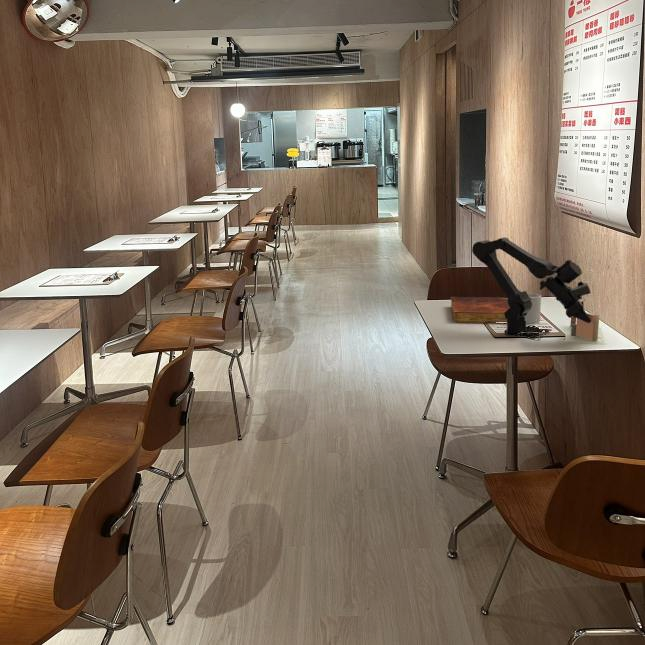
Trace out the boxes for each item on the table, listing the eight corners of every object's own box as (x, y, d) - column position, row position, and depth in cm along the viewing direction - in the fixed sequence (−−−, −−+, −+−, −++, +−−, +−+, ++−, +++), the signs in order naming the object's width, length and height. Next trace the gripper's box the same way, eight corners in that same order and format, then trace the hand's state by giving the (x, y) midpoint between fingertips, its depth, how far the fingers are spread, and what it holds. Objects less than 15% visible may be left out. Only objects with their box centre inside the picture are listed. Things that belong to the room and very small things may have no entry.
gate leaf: (595, 340, 290) (596, 315, 288) (575, 335, 298) (576, 310, 296) (598, 339, 291) (600, 315, 289) (578, 334, 299) (580, 310, 296)
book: (514, 325, 319) (515, 312, 318) (453, 324, 322) (453, 312, 320) (506, 308, 348) (506, 297, 347) (449, 308, 350) (450, 296, 349)
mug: (540, 325, 316) (541, 297, 314) (517, 324, 318) (519, 296, 316) (539, 318, 328) (541, 291, 325) (518, 317, 330) (519, 291, 327)
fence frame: (571, 335, 299) (572, 310, 297) (570, 325, 313) (571, 301, 311) (576, 335, 298) (578, 310, 296) (575, 326, 313) (577, 302, 311)
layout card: (565, 342, 290) (565, 341, 290) (564, 326, 314) (564, 325, 313) (605, 345, 287) (605, 344, 286) (601, 328, 310) (601, 327, 310)
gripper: (578, 280, 280) (609, 313, 279) (577, 271, 297) (606, 302, 297) (553, 301, 284) (583, 333, 283) (553, 291, 301) (582, 321, 301)
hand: (589, 322), depth 291 cm, fingers closed
